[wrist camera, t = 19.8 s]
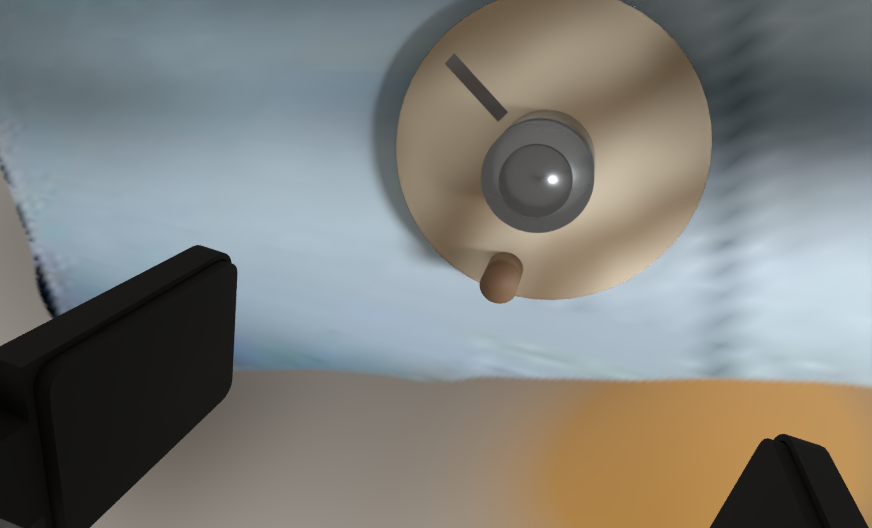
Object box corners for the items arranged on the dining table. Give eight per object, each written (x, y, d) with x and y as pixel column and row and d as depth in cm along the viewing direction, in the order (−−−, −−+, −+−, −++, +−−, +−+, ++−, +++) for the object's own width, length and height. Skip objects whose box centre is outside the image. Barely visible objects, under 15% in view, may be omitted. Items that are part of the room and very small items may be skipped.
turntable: (777, 163, 27) (804, 183, 24) (533, 336, 34) (525, 371, 31) (560, -89, 26) (554, -109, 22) (351, 146, 33) (321, 159, 29)
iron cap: (578, 94, 27) (574, 106, 23) (606, 190, 29) (608, 219, 24) (483, 129, 29) (462, 146, 25) (514, 217, 30) (499, 248, 26)
